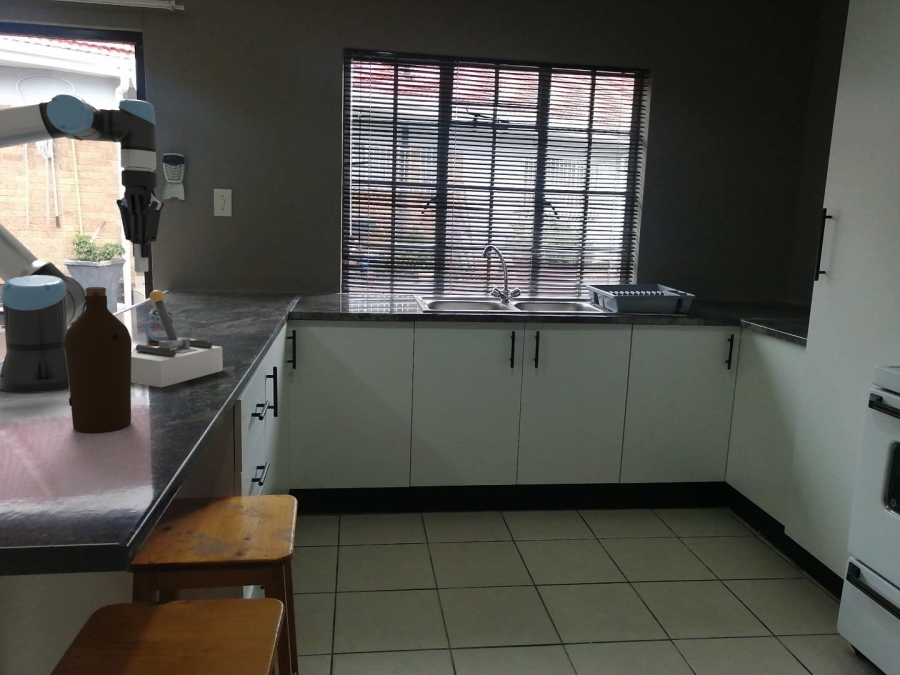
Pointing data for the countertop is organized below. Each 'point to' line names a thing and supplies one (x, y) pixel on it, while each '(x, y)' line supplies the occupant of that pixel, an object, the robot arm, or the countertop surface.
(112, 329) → the olive oil
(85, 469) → the countertop surface
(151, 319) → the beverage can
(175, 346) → the lever
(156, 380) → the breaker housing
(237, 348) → the countertop surface
